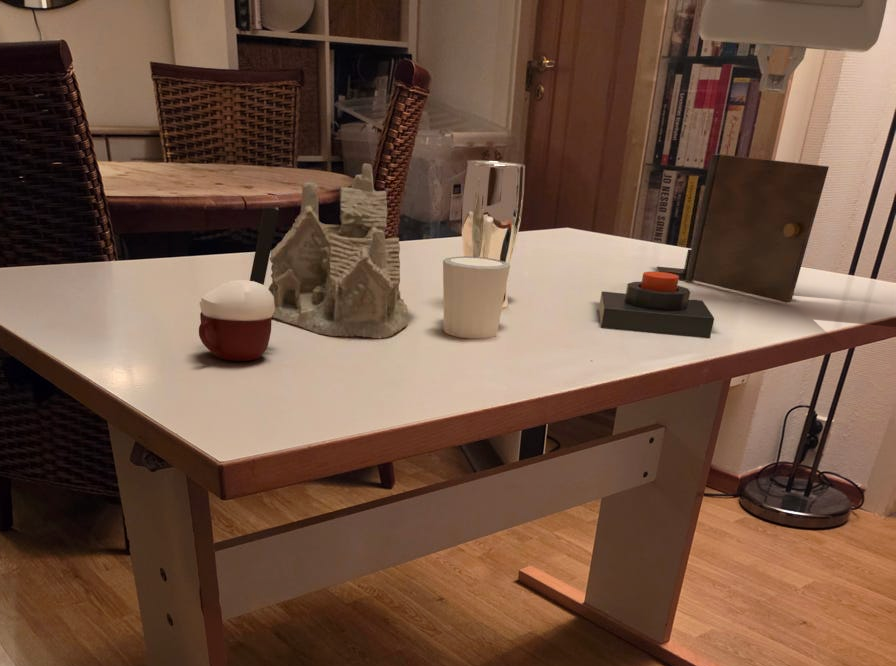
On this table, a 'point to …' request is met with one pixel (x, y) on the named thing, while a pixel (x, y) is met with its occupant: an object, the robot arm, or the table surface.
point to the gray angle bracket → (677, 269)
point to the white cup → (473, 295)
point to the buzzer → (655, 312)
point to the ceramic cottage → (340, 267)
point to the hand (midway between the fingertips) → (771, 92)
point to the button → (660, 281)
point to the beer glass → (492, 209)
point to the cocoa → (242, 306)
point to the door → (755, 224)
